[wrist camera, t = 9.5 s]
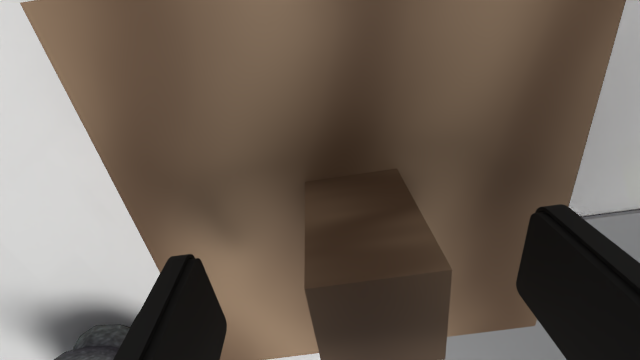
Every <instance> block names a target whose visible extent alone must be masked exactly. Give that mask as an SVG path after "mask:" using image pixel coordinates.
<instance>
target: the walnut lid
mask: <svg viewBox="0 0 640 360" xmlns="http://www.w3.org/2000/svg"><path fill="white" fill-rule="evenodd" d="M625 2H626V0H34V1H28V2H22V3H20V4H21V6H22V8H23V10H24V12H25V14H26V16H27V17H28V19H29V21H30V23H31V25H32V27H33V29H34V31H35V33H36V35H37V37H38V39H39V41H40V42H41V44H42V46H43V48H44V50H45V52H46V54H47V56H48V58H49V60H50V62H51V64H52V66H53V67H54V69H55V71H56V73H57V75H58V77H59V79H60V81H61V83H62V85H63V87H64V89H65V91H66V92H67V94H68V96H69V98H70V100H71V102H72V104H73V106H74V108H75V110H76V112H77V114H78V116H79V117H80V119H81V121H82V123H83V125H84V127H85V129H86V131H87V133H88V135H89V137H90V139H91V141H92V142H93V144H94V146H95V148H96V150H97V152H98V154H99V156H100V158H101V160H102V162H103V164H104V166H105V167H106V169H107V171H108V173H109V175H110V177H111V179H112V181H113V183H114V185H115V187H116V189H117V191H118V192H119V194H120V196H121V198H122V200H123V202H124V204H125V206H126V208H127V210H128V212H129V214H130V216H131V217H132V219H133V221H134V223H135V225H136V227H137V229H138V231H139V233H140V235H141V237H142V239H143V241H144V242H145V244H146V246H147V248H148V250H149V252H150V254H151V256H152V258H153V260H154V262H155V264H156V266H157V267H158V269H159V271H160V273H161V271H162V269H163V268H164V266H165V264H166V262H167V260H168V259H169V258H170V257H171V256H178V255H186V254H192V255H194V257H195V258H199V259H200V260H201V261H202V264H203V266H204V268H205V271H206V273H207V275H208V278H209V280H210V283H211V285H212V287H213V290H214V292H215V294H216V297H217V299H218V302H219V304H220V306H221V309H222V311H223V313H224V316H225V318H226V322H227V331H226V336H225V340H224V344H223V348H222V352H221V356H220V360H266V359H274V358H282V357H290V356H298V355H306V354H314V353H319V354H320V358H321V360H444V359H445V357H446V344H447V337H451V336H459V335H467V334H475V333H483V332H491V331H499V330H507V329H515V328H523V327H531V326H535V325H536V321H537V318H536V317H535V316H534V314H533V313H532V311H531V310H530V309H529V307H528V306H527V305H526V303H525V302H524V300H523V299H522V298H521V296H520V295H519V293H518V291H517V287H516V280H517V275H518V271H519V266H520V262H521V257H522V252H523V248H524V243H525V239H526V234H527V229H528V225H529V220H530V217H531V215H532V214H533V213H535V212H536V210H537V209H538V208H539V207H544V206H551V205H559V204H562V205H566V206H567V207H568V206H569V203H570V199H571V195H572V192H573V188H574V185H575V181H576V177H577V174H578V170H579V167H580V163H581V160H582V156H583V152H584V149H585V145H586V142H587V138H588V134H589V131H590V127H591V124H592V120H593V116H594V113H595V109H596V106H597V102H598V98H599V95H600V91H601V88H602V84H603V81H604V77H605V73H606V70H607V66H608V63H609V59H610V55H611V52H612V48H613V45H614V41H615V37H616V34H617V30H618V27H619V23H620V19H621V16H622V12H623V9H624V5H625Z"/></svg>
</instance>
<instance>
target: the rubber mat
mask: <svg viewBox="0 0 640 360" xmlns="http://www.w3.org/2000/svg"><path fill="white" fill-rule="evenodd" d="M582 218H583V219H584V220H585V221H587V222H588V223H589V224H590V225H592V226H593V227H594V228H596V229H597V230H598V231H599V232H601V233H602V234H603V235H605V236H606V237H607V238H608V239H610V240H611V241H612V242H613V243H615V244H616V245H617V246H619V247H620V248H621V249H622V250H624V251H625V252H626V253H628V254H629V255H630V256H631V257H633V258H634V259H635V260H637V261H638V262H639V263H640V210H633V211H625V212H617V213H610V214H602V215H595V216H587V217H582ZM444 360H567V359H566V358H565V357H564V355H563V354H562V353H561V351H560V350H559V348H558V347H557V346H556V344H555V343H554V342H553V340H552V339H551V337H550V336H549V335H548V333H547V332H546V331H545V329H544V328H543V327H542V325H541V324H540V322H539V321H538V320H537V321H536V325H535V326H531V327H523V328H515V329H507V330H499V331H491V332H483V333H475V334H467V335H459V336H451V337H447V344H446V357H445V359H444Z"/></svg>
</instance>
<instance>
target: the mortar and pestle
mask: <svg viewBox="0 0 640 360" xmlns="http://www.w3.org/2000/svg"><path fill="white" fill-rule="evenodd" d="M129 329H130V328H129V327H126V326H123V325H104V326H94V327H93V328H92V329H90V330H89V331H87V332H86V333H84V334H83V335H81V336H80V338H79V339H78V341H77V343H76V344H75V346H74V349H73V350H71V351H68V352H65V353H63V354H62V355H60V356H59V357H57V358H55V359H54V360H113V359H114V357H115V355H116V353H117V352H118V350H119V348H120V346H121V344H122V342H123V340H124V339H125V337H126V335H127V333H128V331H129Z"/></svg>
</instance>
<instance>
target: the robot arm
mask: <svg viewBox="0 0 640 360" xmlns="http://www.w3.org/2000/svg"><path fill="white" fill-rule="evenodd" d="M516 287H517V291H518V293H519V295H520V296H521V298H522V299H523V300H524V302H525V303H526V305H527V306H528V307H529V309H530V310H531V311H532V313H533V314H534V316H535V317H536V318H537V320H538V321H539V322H540V324H541V325H542V327H543V328H544V329H545V331H546V332H547V333H548V335H549V336H550V337H551V339H552V340H553V342H554V343H555V344H556V346H557V347H558V348H559V350H560V351H561V353H562V354H563V355H564V357H565V358H566V359H567V360H640V263H639V262H638V261H637V260H635V259H634V258H633V257H631V256H630V255H629V254H628V253H626V252H625V251H624V250H622V249H621V248H620V247H619V246H617V245H616V244H615V243H613V242H612V241H611V240H610V239H608V238H607V237H606V236H605V235H603V234H602V233H601V232H599V231H598V230H597V229H596V228H594V227H593V226H592V225H590V224H589V223H588V222H587V221H585V220H584V219H583V218H582V217H580V216H579V215H578V214H576V213H575V212H574V211H573V210H571V209H570V208H569V207H567V206H566V205H562V204H559V205H551V206H544V207H539V208H538V209H537V210H536V212H535V213H533V214H532V215H531V217H530V220H529V225H528V229H527V234H526V239H525V243H524V248H523V252H522V257H521V262H520V266H519V271H518V275H517V280H516ZM226 331H227V322H226V318H225V316H224V313H223V311H222V309H221V306H220V304H219V302H218V299H217V297H216V294H215V292H214V290H213V287H212V285H211V283H210V280H209V278H208V275H207V273H206V271H205V268H204V266H203V264H202V261H201V260H200V259H199V258H195V257H194V255H192V254H186V255H178V256H171V257H170V258H169V259H168V260H167V262H166V264H165V266H164V268H163V269H162V271H161V273H160V275H159V277H158V279H157V281H156V283H155V284H154V286H153V288H152V290H151V292H150V294H149V296H148V297H147V299H146V301H145V303H144V305H143V307H142V309H141V311H140V312H139V314H138V315H137V316H136V318H135V320H134V322H133V324H132V326H131V327H130V329H129V331H128V333H127V335H126V337H125V339H124V340H123V342H122V344H121V346H120V348H119V350H118V352H117V353H116V355H115V357H114V359H113V360H220V356H221V352H222V348H223V344H224V340H225V336H226Z"/></svg>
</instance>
